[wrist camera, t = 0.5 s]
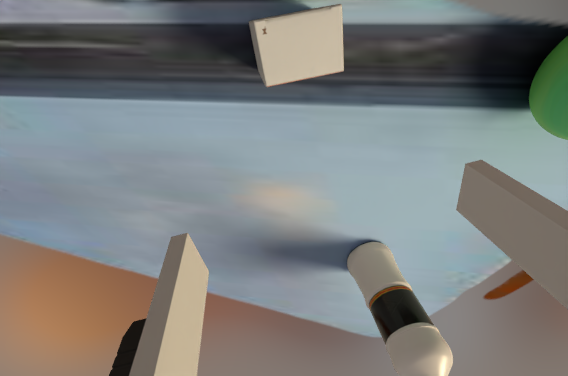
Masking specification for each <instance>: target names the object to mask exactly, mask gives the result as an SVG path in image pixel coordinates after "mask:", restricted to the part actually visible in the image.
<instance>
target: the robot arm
mask: <svg viewBox="0 0 568 376" xmlns="http://www.w3.org/2000/svg"><path fill="white" fill-rule="evenodd" d="M456 210H457V211H458V212H459V213H460V214H462V215H463V216H464V217H465V218H466V219H467V220H468V221H469V222H471V223H472V224H473V225H474V226H475V227H476V228H477V229H478V230H479V231H481V232H482V233H483V234H484V235H485V236H486V237H487V238H488V239H490V240H491V241H492V242H493V243H494V244H495V245H496V246H497V247H498V248H500V249H501V250H502V251H503V252H504V253H505V254H506V255H507V256H508V257H510V258H511V259H512V260H513V261H514V262H515V263H516V264H518V265H519V266H520V267H521V268H522V269H523V270H524V271H525V272H526V273H527V274H529V275H530V276H531V277H532V278H533V279H534V280H535V281H536V282H537V283H539V284H540V285H541V286H542V287H543V288H544V289H545V290H547V291H548V292H549V293H550V294H551V295H552V296H553V297H554V298H555V299H556V300H558V301H559V302H560V303H561V304H562V305H563V306H564V307H565V308H567V309H568V211H567V210H565V209H563V208H562V207H560V206H558V205H557V204H555V203H553V202H552V201H550V200H548V199H546V198H545V197H543V196H541V195H540V194H538V193H536V192H535V191H533V190H531V189H530V188H528V187H526V186H525V185H523V184H521V183H520V182H518V181H516V180H515V179H513V178H511V177H510V176H508V175H506V174H505V173H503V172H501V171H500V170H498V169H496V168H495V167H493V166H491V165H489V164H488V163H486V162H484V161H483V160H479V161H475V162H471V163H467V164H465V169H464V174H463V179H462V184H461V189H460V194H459V199H458V204H457V209H456ZM208 275H209V271H208V269H207V267H206V265H205V264H204V262H203V260H202V258H201V256H200V254H199V253H198V251H197V249H196V247H195V245H194V244H193V242H192V240H191V238H190V236H189V234H188V233H185V234H181V235H177V236H173V237H171V240H170V243H169V246H168V250H167V253H166V256H165V260H164V263H163V266H162V269H161V273H160V276H159V279H158V282H157V286H156V289H155V292H154V296H153V299H152V302H151V305H150V309H149V312H148V315H147V318H146V319H143V320H138V321H134V322H133V323H132V325H131V326H130V327H129V329H128V331H127V332H126V333H125V335H124V336H123V338H122V341H121V344H120V347H119V349H118V352H117V356H116V358H115V360H114V363H113V366H112V367H113V369H112V370H111V372H110V374H109V376H197V368H198V360H199V350H200V343H201V334H202V326H203V317H204V309H205V300H206V292H207V283H208Z"/></svg>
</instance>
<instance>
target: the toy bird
mask: <svg viewBox="0 0 568 376" xmlns="http://www.w3.org/2000/svg"><path fill="white" fill-rule="evenodd" d="M529 105H530V109H531V112H532V114H533V116H534V118H535V120H536V121H537V122H538V124H539V125H540V126H541V127H542V128H544V129H545V130H546V131H547V132H549V133H551V134H553V135H555V136H557V137H559V138H562V139H566V140H568V36H567V37H566V38H564V39H563V40H562V41H561V42H560V43H559V44H558V45H557V46H556V47H555V48H554V49H553V50H552V51H551V52H550V54H549V55H548V56H547V57H546V59H545V60H544V61H543V63H542V64H541V66H540V67H539V69H538V71H537V72H536V74H535V76H534V79H533V81H532V84H531V88H530V93H529Z"/></svg>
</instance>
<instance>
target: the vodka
mask: <svg viewBox="0 0 568 376" xmlns="http://www.w3.org/2000/svg"><path fill="white" fill-rule="evenodd" d="M347 267H348V270H349V272H350V274H351V275H352V277H354V279H355V281H356V283H357V284H358V286H359V288H360V290H361V292H362V294H363V296H364V298H365V301H366V305H367V307H368V308H369V309H370V311H371V313H372V315H373V318H374V320H375V322H376V324H377V327H378V329H379V331H380V333H381V336H382V338H383V340H384V342H385V345H386V350H387V352H388V353H389V355H390V357H391V360H392V364H393V366H394V369H395V370H396V372H397V373H398V374H399V376H448V374H449V371H450V369H451V367H452V365H453V356H452V352H451V349H450V347H449V346H448V344H447V343H446V342H445V340H444V339H443V338H442V337H441V335H440V333H439V330H438V329H437V328H436V327H435V326H434V324H433V323H432V322H431V320H430V318H429V317H428V315H427V313H426V312H425V310H424V309H423V307H422V306H421V304H420V302H419V301H418V299H417V298H416V296H415V294H414V293H413V291H412V288H411V286H410V285H409V284H408V283H407V281H406V280H405V279H404V277H403V276H402V274H401V272H400V270H399V268H398V266H397V264H396V262H395V260H394V256H393V254H392V252H391V251H390V249H389V248H388V247H387V246H386V245H384V244H382V243H379V242H369V243H365V244H362V245H360V246H358V247H357V248H355V249H354V250H353V251H352V252H351V253H350V255H349V257H348V260H347Z"/></svg>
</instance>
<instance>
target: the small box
mask: <svg viewBox="0 0 568 376" xmlns="http://www.w3.org/2000/svg"><path fill="white" fill-rule="evenodd" d="M249 26H250V32H251V37H252V42H253V47H254V52H255V57H256V62H257V67H258V71H259V73H260V75H261V77H262V79H263V82H264V84H265V86H266V87H269V86H274V85H279V84H284V83H289V82H294V81H299V80H303V79H308V78H313V77H318V76H323V75H328V74H332V73H337V72H343V71H344V60H343V24H342V5H341V4H337V5H331V6H325V7H320V8H313V9H308V10H303V11H298V12H293V13H288V14H283V15H278V16H272V17H267V18H262V19H257V20H252V21H249Z"/></svg>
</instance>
